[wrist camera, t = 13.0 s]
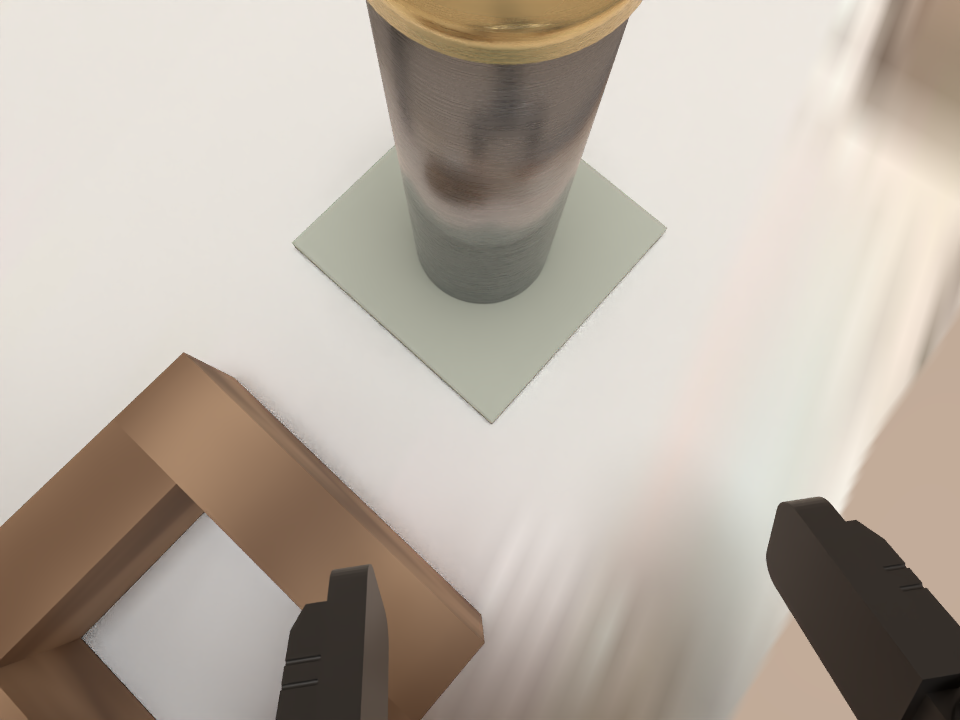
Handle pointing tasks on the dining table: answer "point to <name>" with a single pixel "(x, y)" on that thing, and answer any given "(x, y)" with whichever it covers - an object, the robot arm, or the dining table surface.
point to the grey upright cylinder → (492, 126)
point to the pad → (468, 326)
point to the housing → (169, 513)
